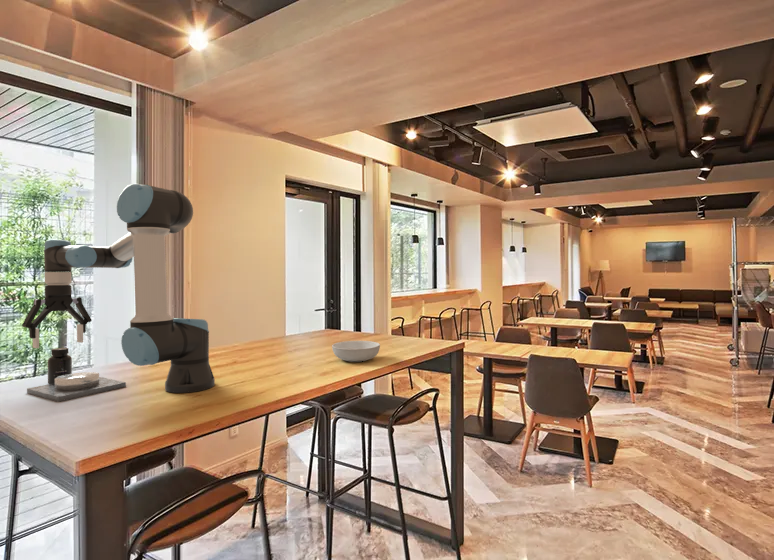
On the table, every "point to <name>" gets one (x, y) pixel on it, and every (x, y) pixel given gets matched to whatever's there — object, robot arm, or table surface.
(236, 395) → the table surface
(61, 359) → the supplement bottle
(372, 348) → the serving bowl
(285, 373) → the table surface
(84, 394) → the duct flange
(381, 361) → the table surface
